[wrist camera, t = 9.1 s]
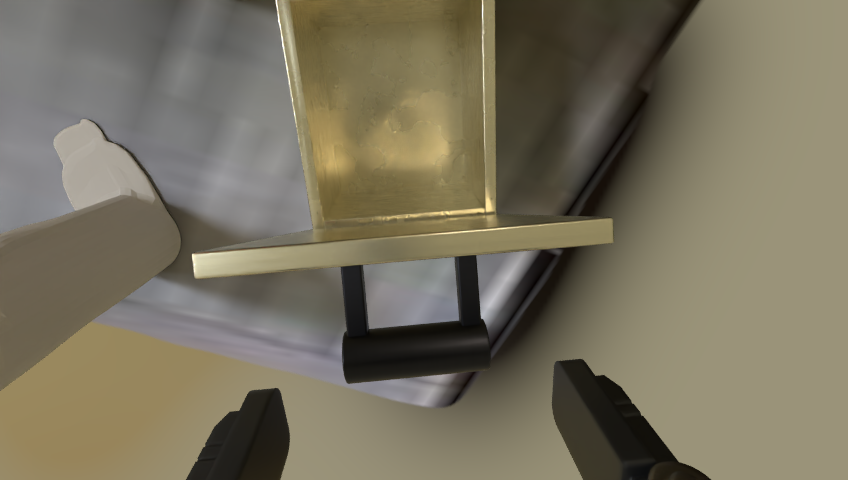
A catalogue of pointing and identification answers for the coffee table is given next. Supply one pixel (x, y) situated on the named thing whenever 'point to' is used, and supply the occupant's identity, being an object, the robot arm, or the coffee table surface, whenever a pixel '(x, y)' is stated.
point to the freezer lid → (398, 242)
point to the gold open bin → (393, 107)
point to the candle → (80, 250)
